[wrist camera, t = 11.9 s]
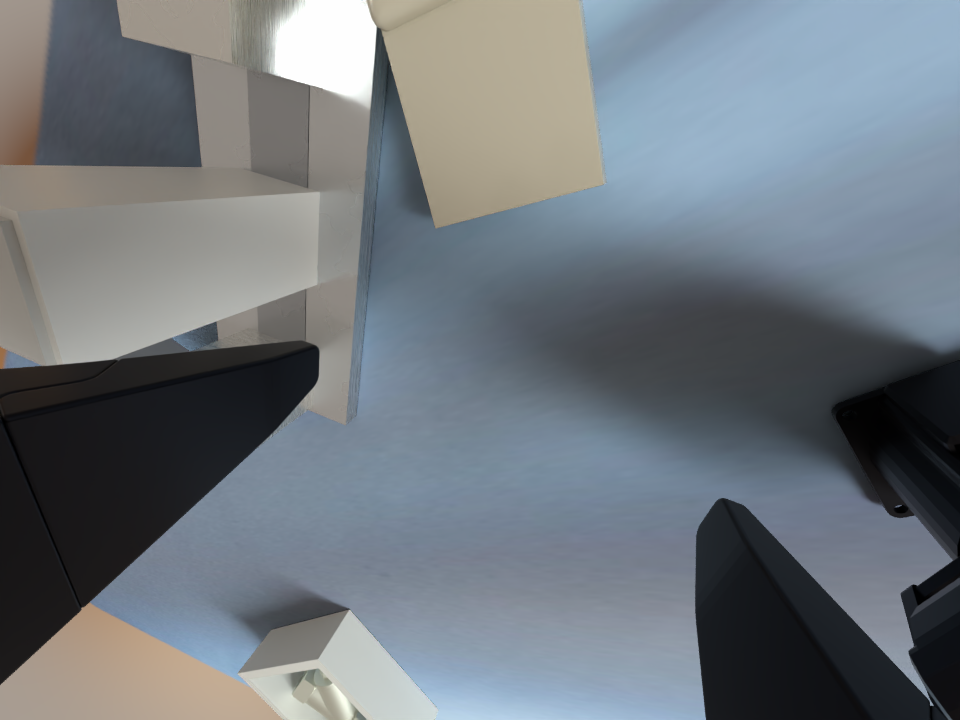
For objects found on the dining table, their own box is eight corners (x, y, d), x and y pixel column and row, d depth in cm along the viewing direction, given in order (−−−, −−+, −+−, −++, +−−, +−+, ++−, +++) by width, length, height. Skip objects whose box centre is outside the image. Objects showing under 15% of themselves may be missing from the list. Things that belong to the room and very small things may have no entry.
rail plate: (396, -20, 17) (292, -106, 12) (356, 415, 28) (292, 473, 23) (203, -55, 19) (38, -144, 14) (235, 367, 30) (150, 410, 24)
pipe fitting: (332, 635, 43) (310, 663, 45) (308, 674, 39) (285, 701, 42) (395, 682, 42) (368, 706, 45) (376, 725, 39) (349, 748, 42)
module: (319, 192, 21) (4, 212, 10) (317, 284, 23) (57, 379, 13) (236, 167, 22) (-133, 162, 11) (241, 258, 24) (-60, 326, 14)
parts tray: (438, 709, 40) (418, 767, 37) (351, 715, 47) (326, 763, 43) (349, 609, 38) (318, 659, 34) (271, 629, 45) (237, 673, 41)
